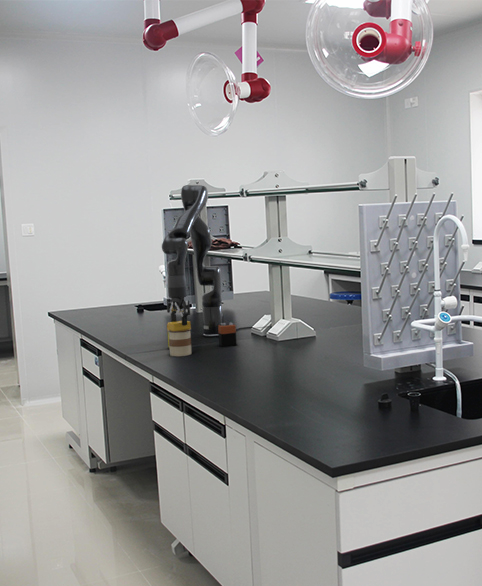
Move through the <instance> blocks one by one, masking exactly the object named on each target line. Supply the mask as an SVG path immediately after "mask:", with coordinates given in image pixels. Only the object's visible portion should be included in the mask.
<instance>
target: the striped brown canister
mask: <svg viewBox="0 0 482 586" xmlns="http://www.w3.org/2000/svg"><path fill="white" fill-rule="evenodd" d="M168 332H169V348H168V350H169V356H171V357H186V356H190V355H192V351H193V350H192V334H191V333H192V328H191V329H184V330H178V331H171V330H168Z"/></svg>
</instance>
